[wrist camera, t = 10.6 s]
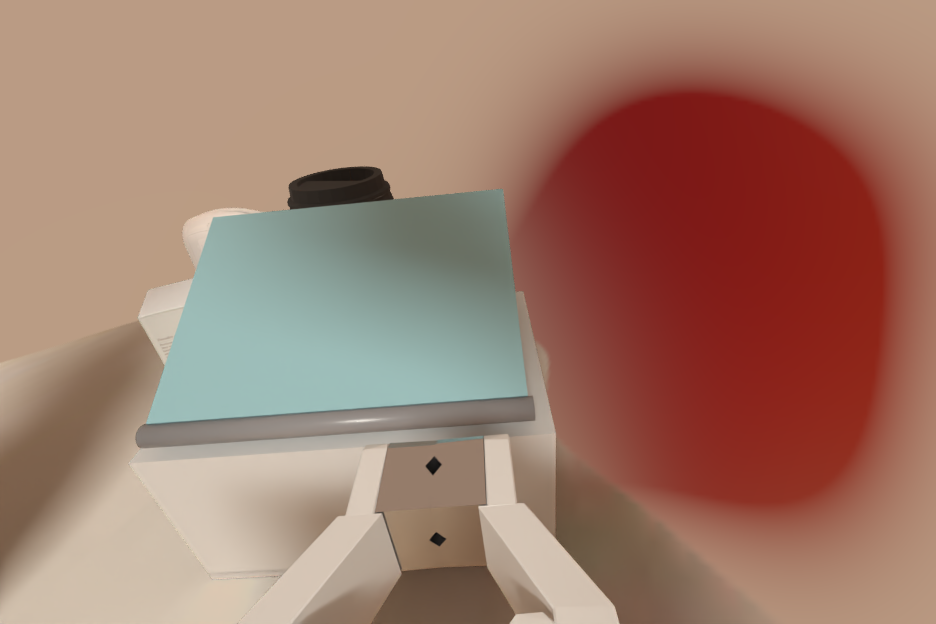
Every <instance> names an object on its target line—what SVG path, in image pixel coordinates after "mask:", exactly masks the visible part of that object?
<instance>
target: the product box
mask: <svg viewBox="0 0 936 624" xmlns="http://www.w3.org/2000/svg"><path fill="white" fill-rule="evenodd" d="M192 281H193V278H192V279H188V280H184V281H181V282H177V283H173V284H169V285H165V286H161V287H157V288H153V289H149V290H148V291H147V294H146V297H145V299H144V302H143V304H142V307H141V310H140V313H139V315H138V317H137V318H138V320H139V322H140V324H141V325H142V327H143V329H144V331H145V332H146V334H147V336H148V337H149V339H150V341H151V343H152V344H153V346H154V348H155V350H156V352H157V353H158V355H159V357H160V359H161V361H162V362H163V364H164V366H165V364H166V361H167V358H168V355H169V352H170V348H171V345H172V342H173V339H174V336H175V333H176V330H177V327H178V324H179V321H180V318H181V315H182V312H183V308H184V305H185V302H186V299H187V296H188V293H189V290H190V287H191V284H192Z"/></svg>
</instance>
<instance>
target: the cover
mask: <svg viewBox="0 0 936 624" xmlns="http://www.w3.org/2000/svg"><path fill="white" fill-rule="evenodd" d="M524 421H535V407H534V399H533V396H528V392H527V384H526V376H525V368H524V359H523V351H522V343H521V335H520V326H519V318H518V310H517V302H516V293H515V286H514V277H513V269H512V260H511V252H510V244H509V236H508V227H507V219H506V211H505V202H504V194H503V189H496V190H486V191H476V192H465V193H455V194H445V195H435V196H425V197H415V198H405V199H394V200H384V201H374V202H363V203H353V204H343V205H333V206H323V207H313V208H302V209H292V210H282V211H272V212H262V213H252V214H241V215H231V216H221V217H213V219H212V222H211V225H210V229H209V232H208V235H207V238H206V241H205V244H204V247H203V250H202V253H201V256H200V259H199V262H198V265H197V269H196V272H195V275H194V278H193V281H192V284H191V287H190V290H189V293H188V296H187V299H186V302H185V305H184V308H183V312H182V315H181V318H180V321H179V324H178V327H177V330H176V333H175V336H174V339H173V342H172V345H171V348H170V352H169V355H168V358H167V361H166V364H165V367H164V370H163V373H162V376H161V379H160V382H159V385H158V388H157V392H156V395H155V398H154V401H153V404H152V407H151V410H150V413H149V416H148V419H147V422H146V424H144V425H142V426H141V427H140V428H139V429H138V431H137V433H136V443H137V445H138V447H140V448H142V449H145V448H159V447H173V446H187V445H201V444H215V443H229V442H243V441H257V440H271V439H285V438H300V437H314V436H328V435H342V434H356V433H370V432H384V431H398V430H412V429H426V428H440V427H454V426H468V425H482V424H496V423H510V422H524Z"/></svg>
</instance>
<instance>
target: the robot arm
mask: <svg viewBox="0 0 936 624" xmlns="http://www.w3.org/2000/svg"><path fill="white" fill-rule="evenodd" d="M462 566H487V568H488V570H489V571H490V573H491V575H492V576H493V578H494V580H495V581H496V583H497V585H498V586H499V588H500V589H501V591H502V593H503V594H504V596H505V598H506V599H507V601H508V603H509V604H510V606H511V608H512V609H513V611H514V613H515V614H516V615H515V616H514V618H513V619H512V621H511V622H510V623H509V624H619V620H618V616H617V613H616V609H615V606H614V605H613V604H612V602H611V601H610V600H609V599H608V598H607V597H606V596H605V594H604V593H603V592H602V591H601V590H600V589H599V588H598V586H597V585H596V584H595V583H594V582H593V581H592V580H591V578H590V577H589V576H588V575H587V574H586V573H585V571H584V570H583V569H582V568H581V567H580V566H579V565H578V563H577V562H576V561H575V560H574V559H573V558H572V557H571V555H570V554H569V553H568V552H567V551H566V550H565V549H564V547H563V546H562V545H561V544H560V543H559V542H558V541H557V539H556V538H555V537H554V536H553V535H552V534H551V532H550V531H549V530H548V529H547V528H546V527H545V526H544V524H543V523H542V522H541V521H540V520H539V519H538V518H537V516H536V515H535V514H534V513H533V512H532V511H531V510H530V508H529V507H528V506H527V505H526V504H525V503H517V498H516V490H515V481H514V472H513V464H512V455H511V446H510V438H509V435H508V434H499V435H487V436H475V437H464V438H453V439H442V440H437V441H418V442H400V443H389V444H371V445H366V446H365V448H364V449H363V451H362V454H361V457H360V461H359V465H358V469H357V473H356V476H355V480H354V484H353V488H352V492H351V495H350V499H349V503H348V507H347V511H346V514H345V516H338V517H337V518H336V519H335V520H334V521H333V522H332V523H331V524H330V525H329V526H328V527H327V528H326V529H325V530H324V531H323V533H322V534H321V535H320V536H319V537H318V538H317V539H316V540H315V541H314V542H313V543H312V544H311V545H310V546H309V547H308V549H307V550H306V551H305V552H304V553H303V554H302V555H301V556H300V557H299V558H298V559H297V560H296V561H295V562H294V563H293V565H292V566H291V567H290V568H289V569H288V570H287V571H286V572H285V573H284V574H283V575H282V576H281V577H280V578H279V579H278V581H277V582H276V583H275V584H274V585H273V586H272V587H271V588H270V589H269V590H268V591H267V592H266V593H265V594H264V595H263V597H262V598H261V599H260V600H259V601H258V602H257V603H256V604H255V605H254V606H253V607H252V608H251V609H250V610H249V611H248V613H247V614H246V615H245V616H244V617H243V618H242V619H241V620H240V621H239V622H238V623H237V624H371V623H372V622H373V620H374V618H375V617H376V615H377V613H378V612H379V610H380V609H381V607H382V605H383V604H384V602H385V600H386V599H387V597H388V596H389V594H390V592H391V591H392V589H393V587H394V586H395V584H396V583H397V581H398V579H399V578H400V576H401V571H409V570H419V569H430V568H440V567H462Z"/></svg>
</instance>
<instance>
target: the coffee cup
mask: <svg viewBox="0 0 936 624" xmlns="http://www.w3.org/2000/svg"><path fill="white" fill-rule="evenodd" d="M289 192H290V198H289V199H288V206H289V207H290V210H292V209H302V208H313V207H323V206H333V205H343V204H353V203H363V202H374V201H384V200H393V199H394V198H393V196H392V194H391V192H390V185H389V183H388V182H387V181H385V180H384V178H383V174H382V171H381V170H380V169H378V168H375V167H347V168H339V169H333V170H327V171H322V172H317V173H314V174H310V175H307V176H304V177H301V178H299V179H297V180H295V181H293V182H292V183H290V184H289Z"/></svg>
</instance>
